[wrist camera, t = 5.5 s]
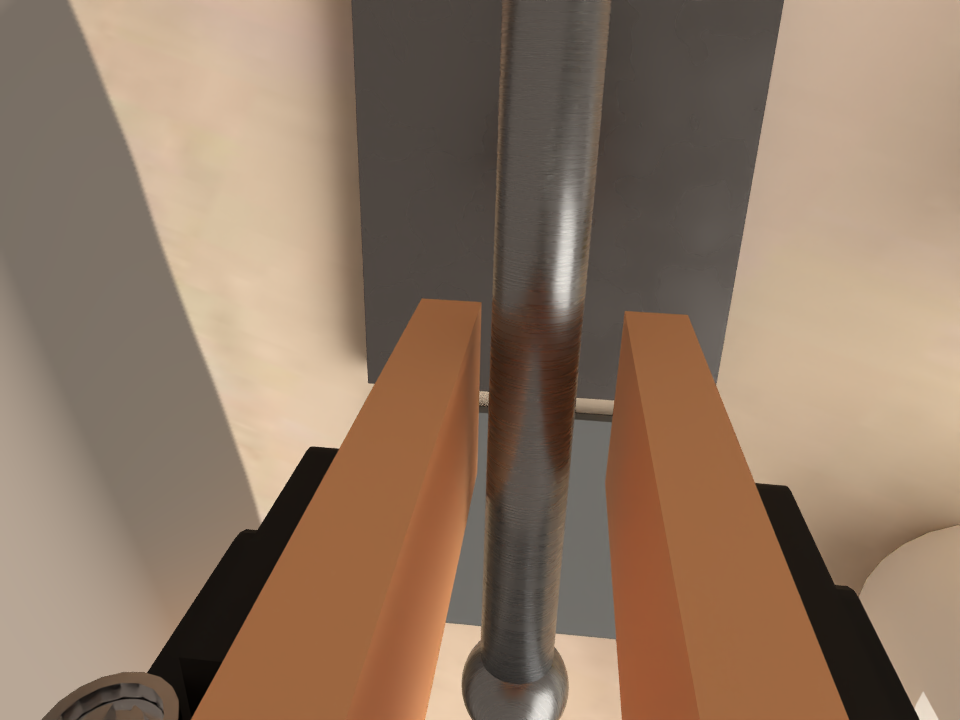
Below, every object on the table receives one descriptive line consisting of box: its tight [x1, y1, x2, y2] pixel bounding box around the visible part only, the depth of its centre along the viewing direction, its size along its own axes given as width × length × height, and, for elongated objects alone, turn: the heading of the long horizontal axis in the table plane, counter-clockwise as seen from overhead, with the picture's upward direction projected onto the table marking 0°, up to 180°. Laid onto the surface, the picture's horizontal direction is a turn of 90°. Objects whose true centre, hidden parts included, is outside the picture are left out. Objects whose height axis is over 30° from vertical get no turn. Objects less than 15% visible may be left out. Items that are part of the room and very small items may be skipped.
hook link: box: [191, 298, 849, 720], centre depth 10 cm, size 4×5×11 cm
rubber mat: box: [445, 406, 616, 639], centre depth 34 cm, size 12×13×1 cm
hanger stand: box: [352, 0, 784, 720], centre depth 19 cm, size 22×14×17 cm, turn 179°
